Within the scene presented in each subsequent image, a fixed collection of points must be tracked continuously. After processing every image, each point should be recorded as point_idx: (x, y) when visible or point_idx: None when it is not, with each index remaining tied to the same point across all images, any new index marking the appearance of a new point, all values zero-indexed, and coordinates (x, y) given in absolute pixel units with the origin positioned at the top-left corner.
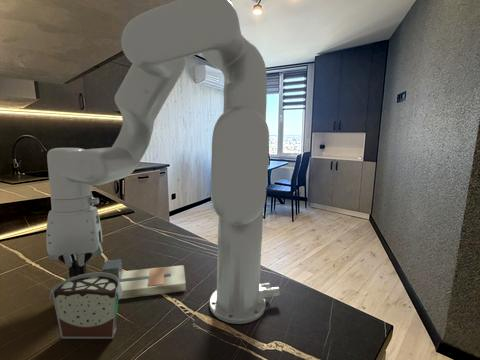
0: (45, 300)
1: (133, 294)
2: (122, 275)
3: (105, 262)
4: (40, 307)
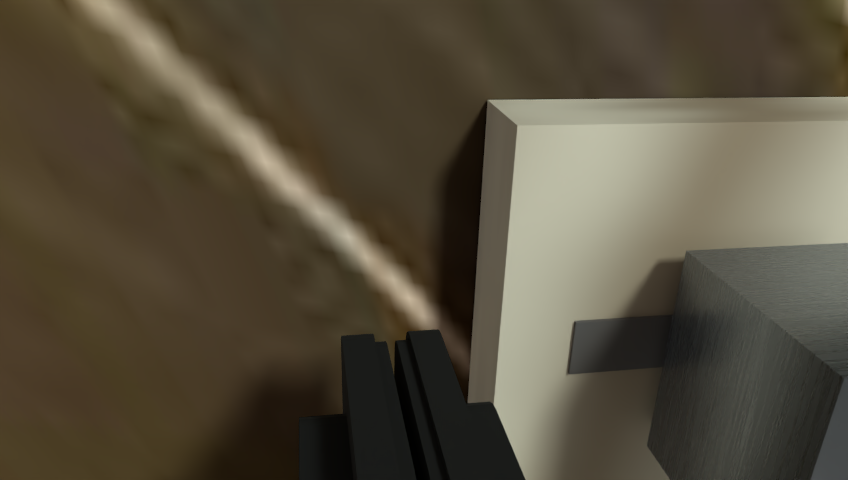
0: (69, 383)
1: None
2: (835, 227)
3: (825, 445)
4: (92, 473)
